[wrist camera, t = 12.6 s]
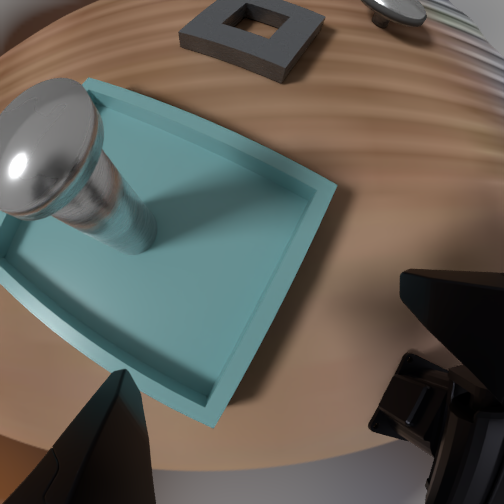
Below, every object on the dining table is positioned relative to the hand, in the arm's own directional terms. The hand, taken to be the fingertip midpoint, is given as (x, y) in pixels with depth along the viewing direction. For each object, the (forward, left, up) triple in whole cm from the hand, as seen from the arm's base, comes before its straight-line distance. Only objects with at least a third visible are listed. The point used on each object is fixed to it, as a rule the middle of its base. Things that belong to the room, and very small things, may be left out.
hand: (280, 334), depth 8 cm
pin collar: (+11, -22, -11) cm, 27 cm away
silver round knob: (+1, -35, -11) cm, 37 cm away
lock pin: (+9, -1, -10) cm, 13 cm away
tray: (+9, -1, -11) cm, 14 cm away
